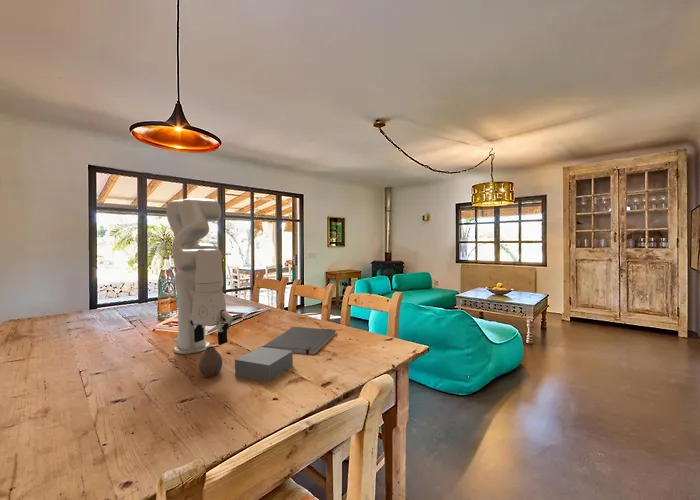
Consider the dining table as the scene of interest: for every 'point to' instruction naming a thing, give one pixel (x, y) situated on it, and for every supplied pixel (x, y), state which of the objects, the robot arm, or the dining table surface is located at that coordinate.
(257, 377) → the slate block
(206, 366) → the vase
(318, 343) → the notebook
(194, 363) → the dining table surface
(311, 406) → the dining table surface
